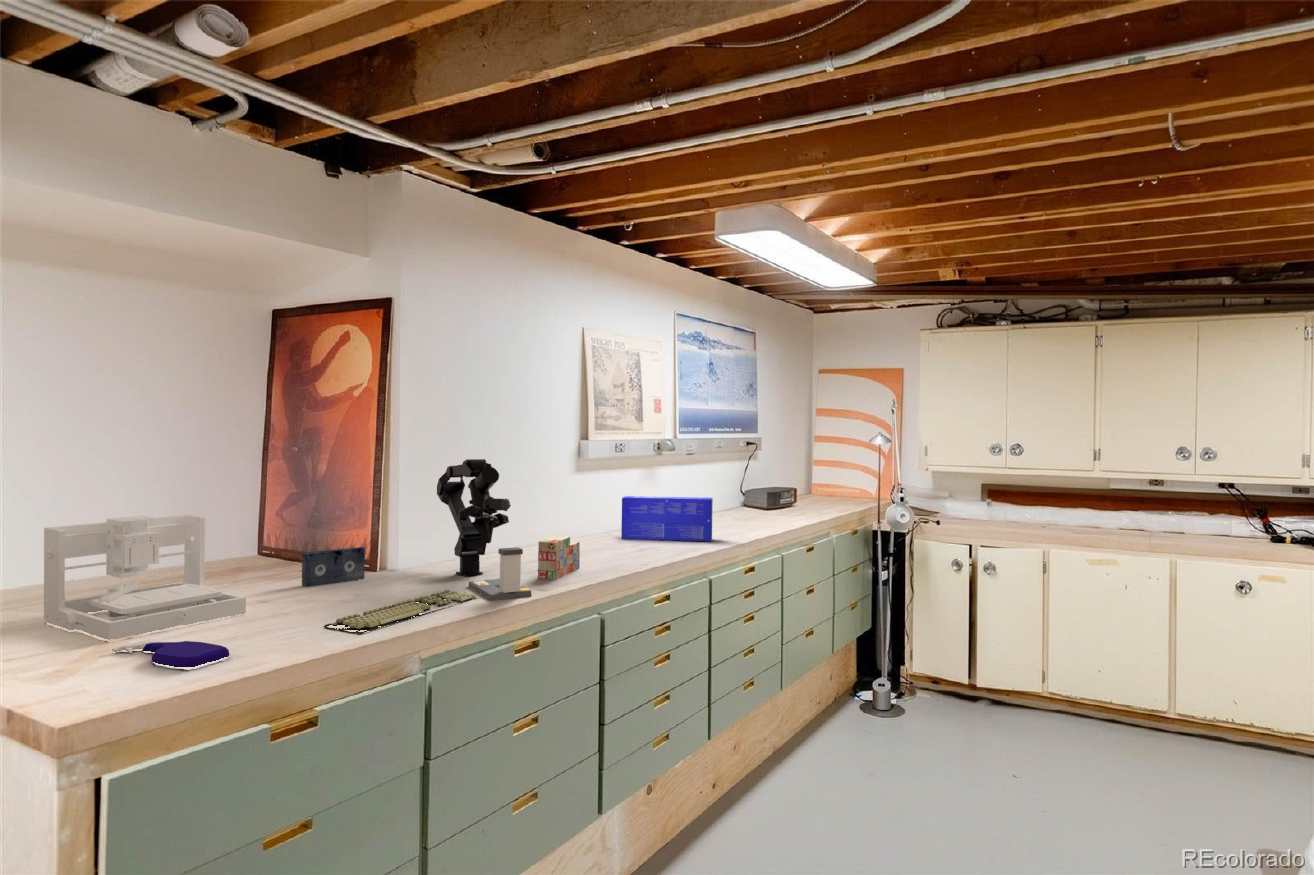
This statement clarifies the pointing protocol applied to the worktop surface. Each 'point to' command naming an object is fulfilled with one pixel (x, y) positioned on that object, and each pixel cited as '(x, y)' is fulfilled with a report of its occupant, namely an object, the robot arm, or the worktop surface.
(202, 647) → the dark purple flat pad
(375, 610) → the keyboard
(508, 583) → the lever
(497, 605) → the worktop surface
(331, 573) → the vhs cassette tape
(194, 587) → the 3d printer
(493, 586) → the switch panel
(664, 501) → the toner cartridge box
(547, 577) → the stack of blocks
